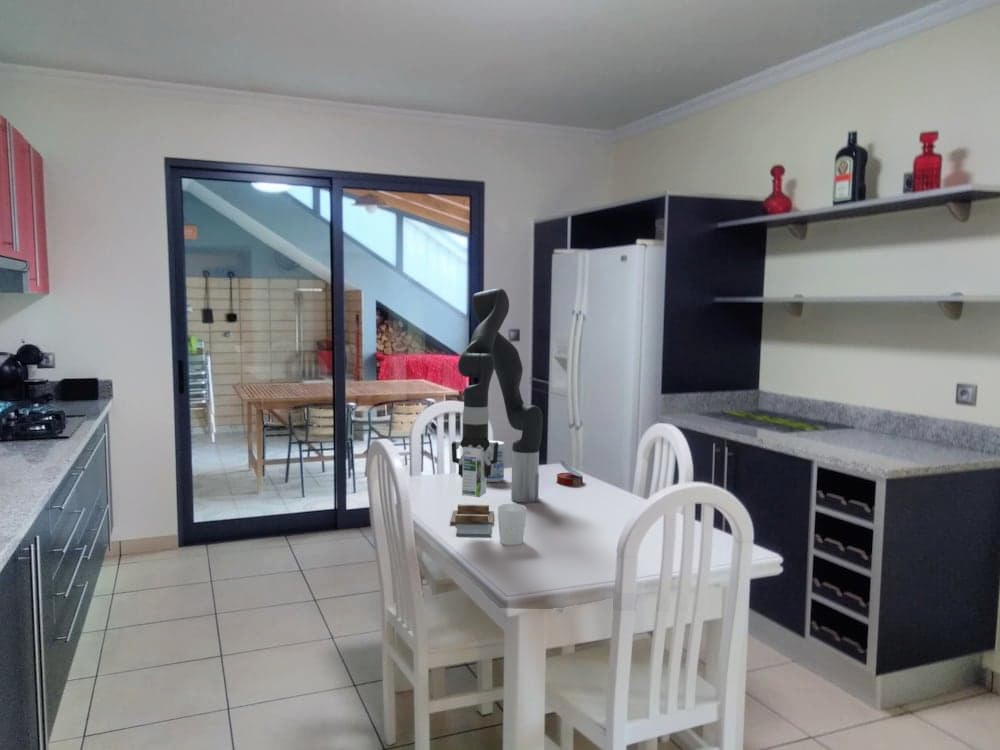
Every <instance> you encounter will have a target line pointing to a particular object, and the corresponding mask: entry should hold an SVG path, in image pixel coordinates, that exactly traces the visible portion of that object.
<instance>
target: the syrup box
mask: <svg viewBox="0 0 1000 750" xmlns="http://www.w3.org/2000/svg"><path fill="white" fill-rule="evenodd" d="M483 450H484V448H483V447H482V448H477V447H472V448H468V447H463V448H462V455H463V454H464V457H463V477H461V478H462V483H461V495H462V497H463V496H465V497H466V496H467V497H468V496H469V497H474V498H480V497H482V496H483V495H485V494H486V493H487V482H486V464H487V463H486V462H485V460H484V459H483ZM485 453H487V449H486V451H485Z"/></svg>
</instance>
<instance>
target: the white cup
mask: <svg viewBox="0 0 1000 750" xmlns="http://www.w3.org/2000/svg"><path fill="white" fill-rule="evenodd" d="M497 510H498V513H497V516H498V518H497V519H498V532H499V543H501V544H502V545H505V546H506V545H507V546H518V545H521V544H524V535H525V527H526V514H527V507H526V506H525V505H523V504H518V503H504V504H503V503H502V504H500V505H499V506H498V507H497Z"/></svg>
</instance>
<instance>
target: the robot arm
mask: <svg viewBox="0 0 1000 750" xmlns="http://www.w3.org/2000/svg"><path fill="white" fill-rule="evenodd" d="M471 303H472V307H473V311H474V314H475V317H476V319H477V322H478V325H477V327H476V328H475V329H474V331H473V333H472V336H471V339H470V342H469V345H468V346H467V347H466V348H465V350H464V351H463V352H462V353H461V355H460V356H459V359H458V361H457V368H458V369H457V370H458V372H459V373H460V375H461V376H463V377H465V378H481V379H480V382H479V383H476V384H471V385H467V386H465V387H464V390H463V410H462V420H461V421H462V434H461V435H462V437H461V438H462V439H461V441H455V440H453V441H452V443H451V459H452V460H451V461H452V463H454V464H457V465H458V471H457V472H458V476H460V478H463V457H464V454H463V453H462V455H461V456H460V458H459V457H458V452H457V450H458V449H459V448H460V446H461V448H462V449H463V447H468V448H472V447H477V448H482V447H483V448H484V450H483V459H484V460H485V462H486V463H487V464H486V478H488V476H490V475H491V465H492V464H494V463H497V456H498V442H495V443H492V442H489V441H490V440H489V409H488V408H489V389H490V388H489V387H490V385H491V380H492V377H493V374H494V372H495V374H496V377H497V380H498V383H499V386H500V390H501V394H502V397H503V402H504V406H505V411H506V416H507V420H508V423H509V425H510V426H511V428H513V429H515V430H517V431H522V432H521V437H520V439H518V440H514V441H513V442H512V444H511V445H512V447H511V449H512V450H511V451H512V452H511V455H512V456H511V457H512V459H511V493H510V495H511V500H512V501H513V502H516V503H524V504H525V503H534V502H539V487H540V486H539V485H540V484H539V481H540V479H539V478H540V477H539V476H540V475H539V474H540V473H539V471H540V470H539V468H540V466H539V465H540V446H541V443H542V436H543V424H544V418H543V417H544V415H543V411H542V408H540V407H539V406H538V405H533V404H527V403H524V401H523V398H522V395H521V391H520V385H521V381H522V378H523V377H522V376H523V369H524V368H523V363H522V360H521V357H520V353H519V351H518V349H517V348H516V346H515V345H514V344H513V343H512V342H511V341H510V340H508V339H507V338H506V337H505V336H504V335H502V334H501V332H499V331H500V329H501V328H502V326H503V323H504V321H505V319H506V317H507V315H508V314H509V310H510V300H509V296H508V294H507V292H506V291H505V289H503V288H494V289H493V288H492V289H489V290H488V289H487V290H482V291H480V292H476V293H474V294H473V296H472V302H471ZM489 446H491V449H492V450H494V454H493V459H490V458H489V457H488V455H487V453H485V451H486V449H487V448H488V447H489Z"/></svg>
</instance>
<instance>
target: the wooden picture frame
mask: <svg viewBox="0 0 1000 750" xmlns="http://www.w3.org/2000/svg"><path fill="white" fill-rule="evenodd" d="M494 512H495V511H493V510H490V504H465V503H464V504H463V503H462V504H460V503H459V504H457V509H456V510H455V509H454V510H452V513H451V517H450V522H449V525H450V526H458V523H469V524H491V527H492V526H494Z"/></svg>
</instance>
